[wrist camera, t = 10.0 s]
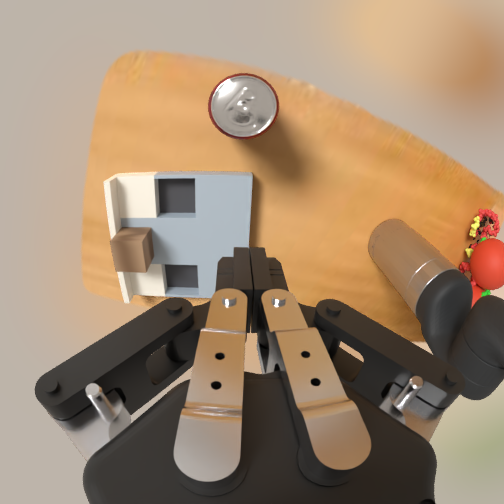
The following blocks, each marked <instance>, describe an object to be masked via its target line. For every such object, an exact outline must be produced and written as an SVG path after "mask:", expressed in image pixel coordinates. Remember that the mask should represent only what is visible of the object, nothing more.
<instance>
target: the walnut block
mask: <svg viewBox="0 0 504 504" xmlns="http://www.w3.org/2000/svg"><path fill="white" fill-rule="evenodd" d="M110 245H111V250H112V255H113V261H114V265H115V270H116V272H137V273H146V272H147V270H148V268H149V266H150V264H151V262H152V260H153V258H154V250H153V241H152V231H151V227H122V228H121V229H120V230H119V231H118V232H117V233H116V235H115V236H114V237H113V238H112V239H111V241H110Z"/></svg>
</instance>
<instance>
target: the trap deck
mask: <svg viewBox="0 0 504 504" xmlns="http://www.w3.org/2000/svg"><path fill="white" fill-rule="evenodd" d="M112 177H116V179H117V191H118V201H119V210H120V218H121V226H122V227H151V231H152V241H153V250H154V258H153V260H152V262H151V264H150V266H149V268H148V270H147V272H146V273H137V272H129V275H130V280H131V285H132V289H133V294H134V295H147V296H167V297H192V298H212V295H213V294H214V293H215V287H216V276H217V265H218V261H219V260H220V259H221V258H222V257H233V249H234V247H248V248H249V232H250V214H251V197H252V180H253V175H252V172H225V171H168V172H138V173H119V174H115V175H114V176H112ZM166 178H195V210H196V213H160V206H159V188H158V179H166ZM165 264H171V265H197V268H198V286H199V288H185V287H167V280H166V272H165Z"/></svg>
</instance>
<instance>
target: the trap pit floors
mask: <svg viewBox="0 0 504 504" xmlns="http://www.w3.org/2000/svg"><path fill="white" fill-rule="evenodd" d="M158 188H159V206H160V213H196V210H195V178H166V179H158ZM165 272H166V280H167V287H185V288H199V286H198V268H197V265H171V264H165Z"/></svg>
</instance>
